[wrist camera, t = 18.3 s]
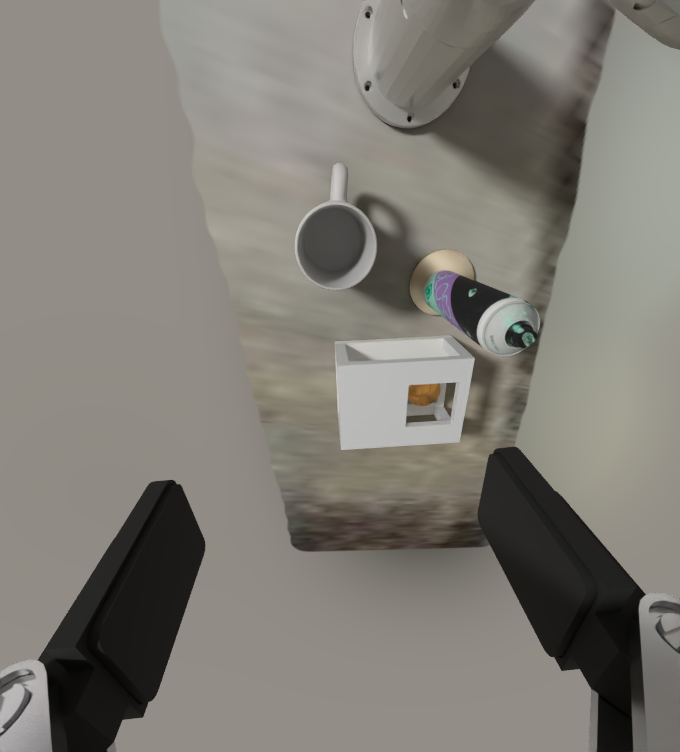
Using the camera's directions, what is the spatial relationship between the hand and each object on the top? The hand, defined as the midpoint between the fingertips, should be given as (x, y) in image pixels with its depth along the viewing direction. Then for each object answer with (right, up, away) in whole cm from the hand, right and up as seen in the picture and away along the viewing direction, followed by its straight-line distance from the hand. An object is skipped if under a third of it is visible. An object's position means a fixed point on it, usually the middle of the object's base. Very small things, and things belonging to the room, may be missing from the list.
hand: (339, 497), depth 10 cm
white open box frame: (+8, +3, +42) cm, 43 cm away
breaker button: (+13, +3, +41) cm, 43 cm away
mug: (-1, +23, +31) cm, 39 cm away
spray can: (+14, +16, +35) cm, 41 cm away
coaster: (+14, +17, +35) cm, 42 cm away
